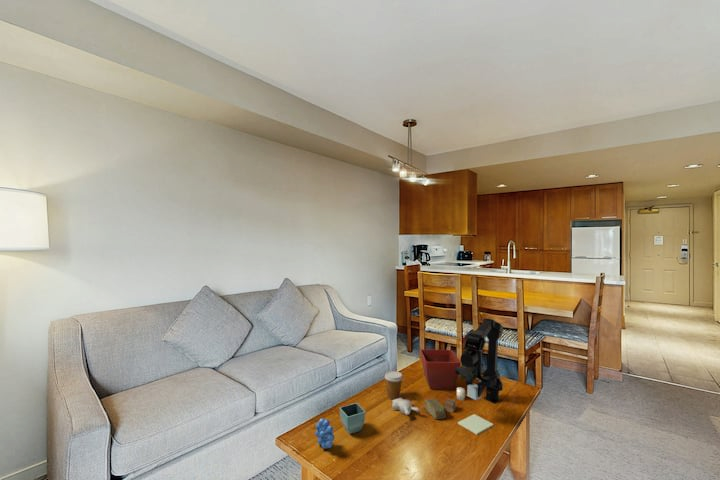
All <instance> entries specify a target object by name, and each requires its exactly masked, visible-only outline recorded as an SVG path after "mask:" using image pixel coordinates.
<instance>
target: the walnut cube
mask: <svg viewBox="0 0 720 480" xmlns="http://www.w3.org/2000/svg"><path fill="white" fill-rule="evenodd" d="M456 405H457V402H456V400H453V399H450V398H447V399H446V400H445V401H444V408H445V410H446V412H447V411H448V412H451V413H454V412H455V411H456V409H457V407H456Z"/></svg>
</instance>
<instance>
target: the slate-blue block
mask: <svg viewBox="0 0 720 480" xmlns="http://www.w3.org/2000/svg"><path fill="white" fill-rule="evenodd" d="M466 387H467V386H466ZM466 391H467V397H469V398H471V399H472V400H475V401H477V400H479V399H483V398H482V397H483V396H482V395H483V393H482V394H481V396H480V397H478V385H477V384H476V383H474V382H473V384H470V385H468V387H467V390H466Z"/></svg>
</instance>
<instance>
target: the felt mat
mask: <svg viewBox="0 0 720 480" xmlns="http://www.w3.org/2000/svg"><path fill="white" fill-rule="evenodd" d="M457 424H458V425H460V426H462V427H463V428H465V430H468V431H470V432H471V433H473V434H475V435H478V434H481V433H483V432H485V431H486V430H488V429H489V428H491V427H493V426H494V423H492V422H490V421H489V420H486V419H485V418H483V417H481V416H479V415H477V414H475V413H473V414H472V415H469V416H466V418H464V419H461V420H460V421H458V422H457Z"/></svg>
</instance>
